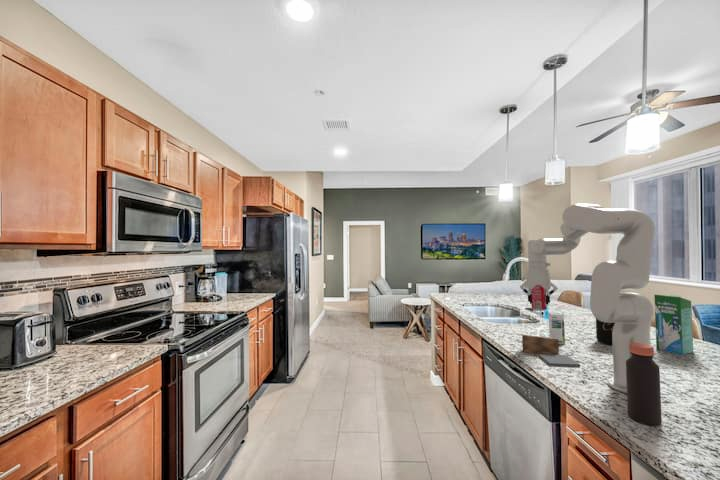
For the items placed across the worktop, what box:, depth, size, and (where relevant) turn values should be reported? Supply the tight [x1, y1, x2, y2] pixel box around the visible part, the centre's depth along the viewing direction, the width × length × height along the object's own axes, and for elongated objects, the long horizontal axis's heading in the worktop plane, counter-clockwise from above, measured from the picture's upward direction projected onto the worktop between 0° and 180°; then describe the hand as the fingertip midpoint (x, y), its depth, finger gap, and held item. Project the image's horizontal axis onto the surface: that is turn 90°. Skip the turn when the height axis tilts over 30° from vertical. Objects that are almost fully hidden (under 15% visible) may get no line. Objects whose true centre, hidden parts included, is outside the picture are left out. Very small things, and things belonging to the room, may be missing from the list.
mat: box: [537, 354, 581, 368], centre depth 128 cm, size 11×11×1 cm
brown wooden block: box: [521, 334, 560, 355], centre depth 139 cm, size 14×5×7 cm, turn 61°
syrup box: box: [548, 311, 566, 345], centre depth 154 cm, size 6×6×14 cm
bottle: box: [626, 343, 663, 427], centre depth 85 cm, size 7×7×20 cm
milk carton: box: [653, 294, 694, 355], centre depth 141 cm, size 9×9×25 cm
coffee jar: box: [595, 318, 615, 346], centre depth 152 cm, size 11×11×18 cm
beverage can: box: [530, 285, 548, 312], centre depth 146 cm, size 6×6×12 cm
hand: (538, 303), depth 146 cm, fingers closed on beverage can, 6 cm apart
